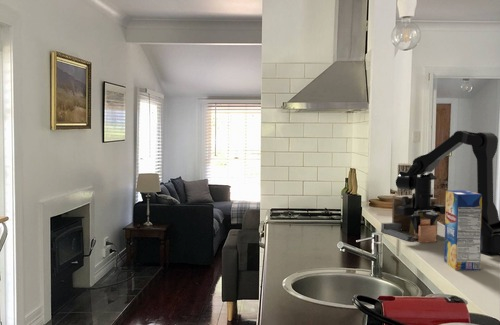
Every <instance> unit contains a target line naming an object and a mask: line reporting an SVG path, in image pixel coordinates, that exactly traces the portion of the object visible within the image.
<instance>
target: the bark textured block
mask: <svg viewBox="0 0 500 325" xmlns="http://www.w3.org/2000/svg"><path fill="white" fill-rule="evenodd" d="M412 164H413V163H402V162H401V163H397V176H398V175H400V171H405V172H408V170H409V169H410V167H411V166H412ZM396 188H397V187H396ZM396 192H397V193H396V196H401V195H413V190H406V189H399V188H397V189H396Z"/></svg>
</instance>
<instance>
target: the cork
mask: <svg viewBox="0 0 500 325" xmlns="http://www.w3.org/2000/svg"><path fill="white" fill-rule="evenodd" d="M418 216H421V217H420V218H423V213H418ZM408 233H409V234H411V235H414V227H413V224H412V222H411V224H410V230H408Z"/></svg>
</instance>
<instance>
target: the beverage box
mask: <svg viewBox="0 0 500 325" xmlns="http://www.w3.org/2000/svg"><path fill="white" fill-rule="evenodd" d="M445 206H446V208H445V214H444V215H445V217H444V253H443V255H444V256H443V258H444V259H443V260H444V263H446V264H447V265H448V266H450V268H452V269H454V270H455V271H481V252H480V251H481V214H482V194H479V193H477V192H475V191H471V190H453V189H452V190H451V189H450V190H445Z"/></svg>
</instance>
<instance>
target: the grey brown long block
mask: <svg viewBox="0 0 500 325" xmlns="http://www.w3.org/2000/svg"><path fill="white" fill-rule="evenodd" d="M380 224H381V226H380V232H381V233H383V234H387V235H389V236H392V237H395V238H398V239H400V240H403V241H406V240H407V241H406V242H408V241H410V242H418V243H422V244H423V243H435V242H437V235H436V225H430V219H428V218H420V225H419V232H418V234H416V233H415V230H414V234H413V236H412V235H408V234H406V233H403V232H402V231H403V230H402V223H400V222H394V223H392V222H381V223H380Z"/></svg>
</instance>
